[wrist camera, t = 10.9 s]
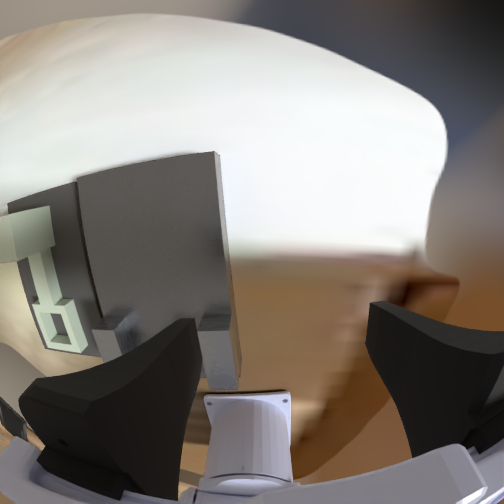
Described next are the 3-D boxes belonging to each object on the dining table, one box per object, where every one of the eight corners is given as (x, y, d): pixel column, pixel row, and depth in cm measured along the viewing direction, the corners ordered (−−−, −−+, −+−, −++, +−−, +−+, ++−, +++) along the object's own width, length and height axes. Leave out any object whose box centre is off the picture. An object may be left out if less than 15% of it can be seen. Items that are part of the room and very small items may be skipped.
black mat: (115, 356, 22) (114, 358, 22) (47, 347, 23) (45, 348, 22) (76, 182, 18) (73, 182, 18) (10, 203, 19) (7, 203, 18)
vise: (241, 358, 22) (237, 414, 15) (133, 357, 22) (105, 403, 16) (219, 155, 18) (201, 141, 12) (95, 177, 18) (40, 179, 12)
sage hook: (88, 344, 22) (62, 374, 17) (55, 340, 22) (29, 365, 17) (54, 204, 18) (14, 212, 13) (22, 212, 18) (-15, 222, 14)
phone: (1, 424, 30) (-5, 397, 26) (3, 422, 31) (-2, 393, 27) (26, 447, 31) (24, 424, 27) (28, 444, 32) (27, 421, 28)
